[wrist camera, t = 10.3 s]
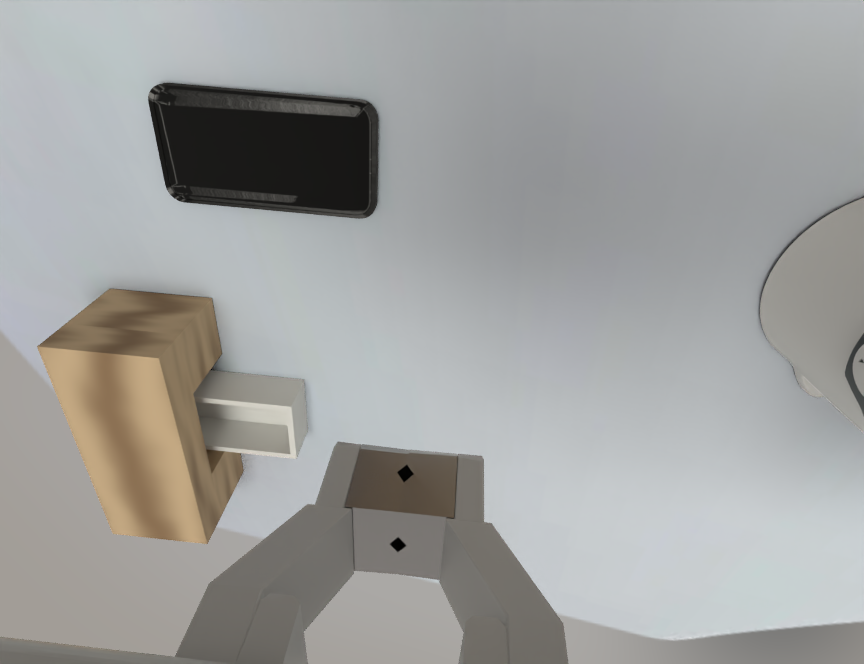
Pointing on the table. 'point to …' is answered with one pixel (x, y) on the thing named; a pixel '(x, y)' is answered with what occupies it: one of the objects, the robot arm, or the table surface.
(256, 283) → the table surface
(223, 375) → the white drawer
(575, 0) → the table surface
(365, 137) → the phone
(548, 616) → the robot arm
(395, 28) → the table surface
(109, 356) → the overhang dock
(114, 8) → the table surface
